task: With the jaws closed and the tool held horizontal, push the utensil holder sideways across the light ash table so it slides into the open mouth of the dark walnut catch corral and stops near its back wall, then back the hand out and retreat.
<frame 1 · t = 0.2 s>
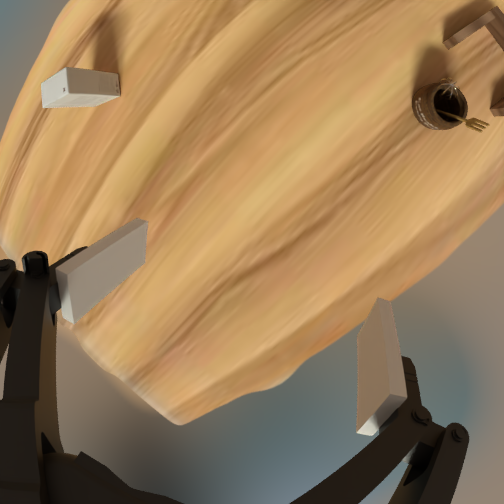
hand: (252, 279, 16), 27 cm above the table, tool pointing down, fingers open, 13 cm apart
utensil holder: (431, 109, 33), on the table
walnut corral: (487, 65, 27), on the table
skincare box: (106, 90, 42), on the table
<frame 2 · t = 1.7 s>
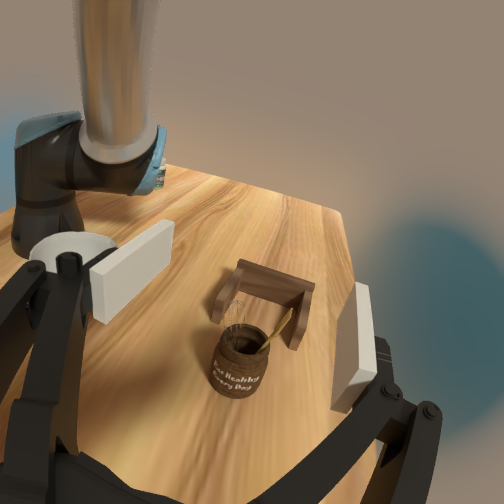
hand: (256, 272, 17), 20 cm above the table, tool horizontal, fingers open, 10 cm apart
utensil holder: (234, 381, 34), on the table
walnut corral: (260, 317, 46), on the table
teacup: (72, 304, 38), on the table
pill bottle: (155, 187, 85), on the table
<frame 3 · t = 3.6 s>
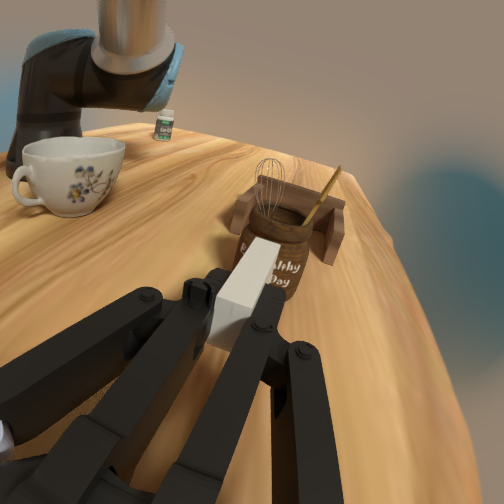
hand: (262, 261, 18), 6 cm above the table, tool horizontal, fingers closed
utensil holder: (263, 288, 28), on the table
walnut corral: (286, 234, 39), on the table
teacup: (64, 213, 31), on the table
pill bottle: (161, 140, 79), on the table
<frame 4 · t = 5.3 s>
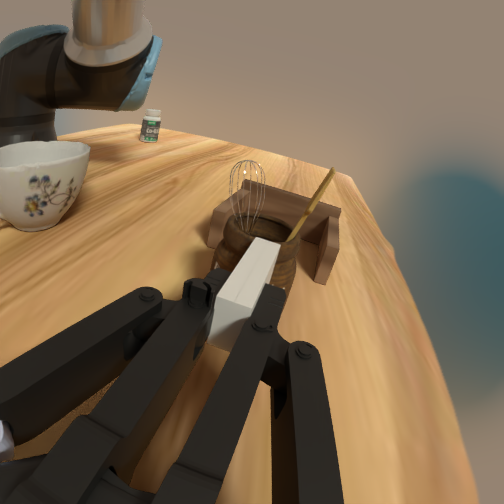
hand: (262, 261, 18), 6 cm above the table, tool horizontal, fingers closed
utensil holder: (243, 311, 24), on the table, touching gripper
walnut corral: (273, 247, 35), on the table
teacup: (28, 226, 27), on the table
pill bottle: (148, 141, 74), on the table
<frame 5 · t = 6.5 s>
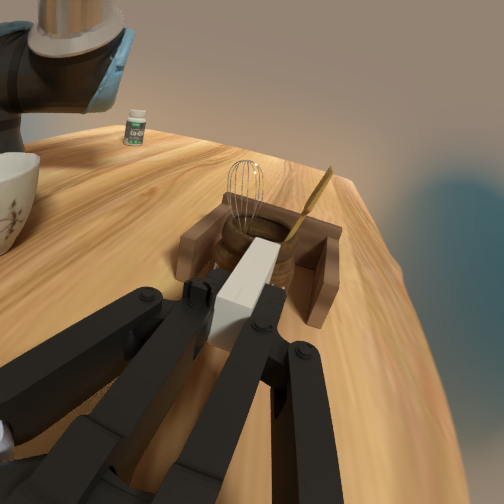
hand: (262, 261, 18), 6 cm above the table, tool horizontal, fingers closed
utensil holder: (242, 310, 24), on the table, touching gripper
walnut corral: (259, 277, 29), on the table
pill bottle: (132, 145, 68), on the table
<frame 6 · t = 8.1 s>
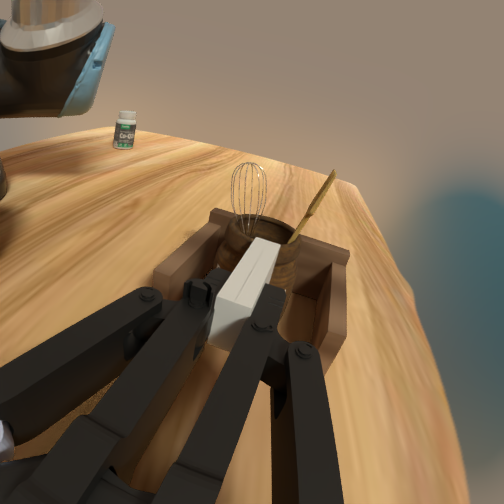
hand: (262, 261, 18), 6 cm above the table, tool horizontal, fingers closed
utensil holder: (244, 313, 24), on the table, touching gripper
walnut corral: (251, 313, 24), on the table
pill bottle: (122, 148, 63), on the table
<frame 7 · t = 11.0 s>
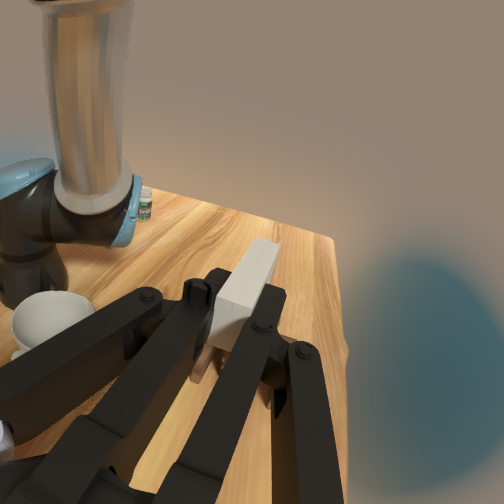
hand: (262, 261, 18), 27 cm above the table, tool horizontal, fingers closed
walnut corral: (241, 375, 44), on the table
teacup: (56, 363, 36), on the table
pill bottle: (142, 219, 84), on the table
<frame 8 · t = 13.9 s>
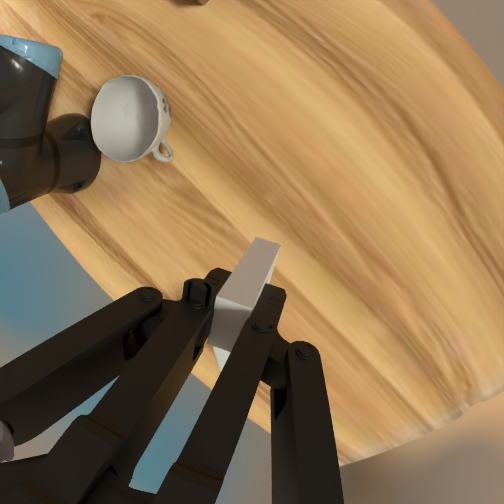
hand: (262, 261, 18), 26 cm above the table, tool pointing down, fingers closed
skincare box: (251, 315, 54), on the table
teacup: (157, 121, 44), on the table
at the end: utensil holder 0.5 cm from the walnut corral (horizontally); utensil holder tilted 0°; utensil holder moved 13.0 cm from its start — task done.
